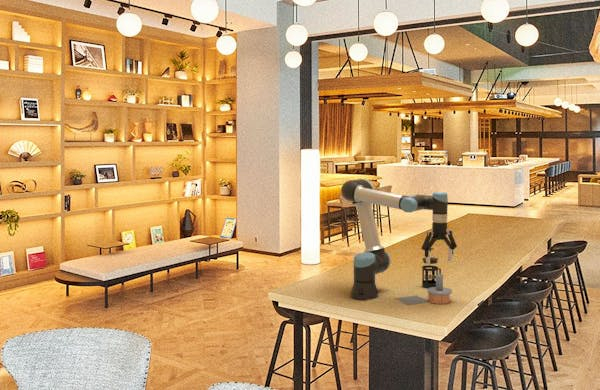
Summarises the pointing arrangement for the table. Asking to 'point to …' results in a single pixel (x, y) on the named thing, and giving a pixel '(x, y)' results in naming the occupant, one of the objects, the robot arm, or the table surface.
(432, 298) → the bowl
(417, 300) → the mat
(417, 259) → the table surface
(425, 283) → the french press
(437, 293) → the lid
